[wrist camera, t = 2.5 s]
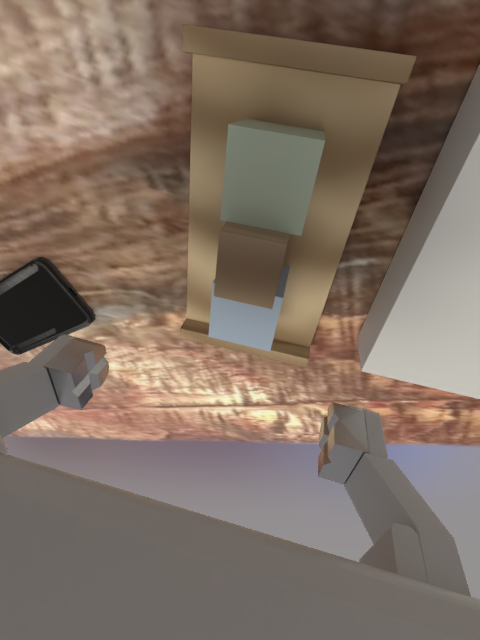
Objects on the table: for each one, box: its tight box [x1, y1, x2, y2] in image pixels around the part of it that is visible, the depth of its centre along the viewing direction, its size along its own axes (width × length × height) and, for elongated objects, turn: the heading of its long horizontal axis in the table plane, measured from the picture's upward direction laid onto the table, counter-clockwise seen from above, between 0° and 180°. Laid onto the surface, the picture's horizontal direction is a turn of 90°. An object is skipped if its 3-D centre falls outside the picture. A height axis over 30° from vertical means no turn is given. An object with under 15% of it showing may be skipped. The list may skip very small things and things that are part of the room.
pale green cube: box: [220, 119, 325, 236], centre depth 17 cm, size 4×4×4 cm
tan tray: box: [180, 24, 417, 368], centre depth 20 cm, size 20×11×8 cm, turn 173°
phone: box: [0, 257, 95, 355], centre depth 34 cm, size 8×1×15 cm
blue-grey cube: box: [208, 265, 290, 352], centre depth 23 cm, size 4×4×4 cm
